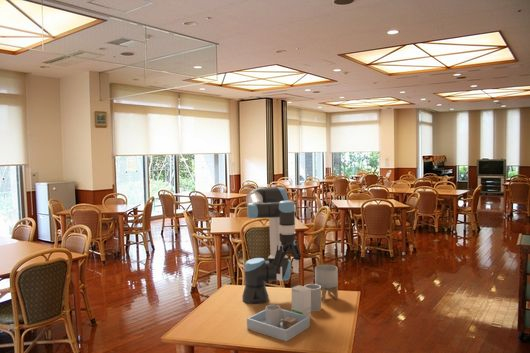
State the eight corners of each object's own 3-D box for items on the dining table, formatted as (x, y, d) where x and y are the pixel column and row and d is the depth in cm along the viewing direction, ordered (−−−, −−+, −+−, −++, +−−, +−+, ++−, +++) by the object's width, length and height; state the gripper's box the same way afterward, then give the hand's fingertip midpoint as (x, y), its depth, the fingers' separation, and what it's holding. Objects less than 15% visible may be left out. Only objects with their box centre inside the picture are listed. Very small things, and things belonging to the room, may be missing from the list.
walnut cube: (297, 329, 206) (297, 318, 206) (291, 332, 203) (290, 322, 202) (288, 326, 210) (288, 316, 209) (282, 330, 206) (282, 319, 205)
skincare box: (291, 317, 223) (290, 287, 222) (299, 313, 228) (298, 284, 227) (303, 321, 217) (303, 291, 216) (311, 317, 222) (311, 287, 221)
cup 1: (266, 322, 215) (265, 304, 215) (286, 321, 215) (285, 304, 214) (265, 328, 208) (265, 310, 208) (286, 328, 208) (286, 310, 207)
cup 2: (319, 312, 229) (319, 290, 228) (302, 310, 232) (302, 288, 231) (322, 306, 237) (322, 284, 236) (306, 304, 240) (306, 283, 239)
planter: (334, 303, 241) (334, 272, 240) (312, 300, 247) (311, 269, 245) (340, 295, 253) (340, 265, 252) (319, 292, 258) (319, 263, 257)
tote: (271, 315, 225) (271, 306, 225) (309, 326, 211) (309, 316, 210) (247, 328, 210) (246, 318, 210) (286, 341, 195) (286, 330, 195)
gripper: (295, 227, 218) (296, 268, 220) (264, 237, 199) (265, 281, 201) (308, 229, 214) (308, 271, 216) (277, 239, 194) (278, 285, 196)
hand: (287, 276), depth 208 cm, fingers open, 13 cm apart
